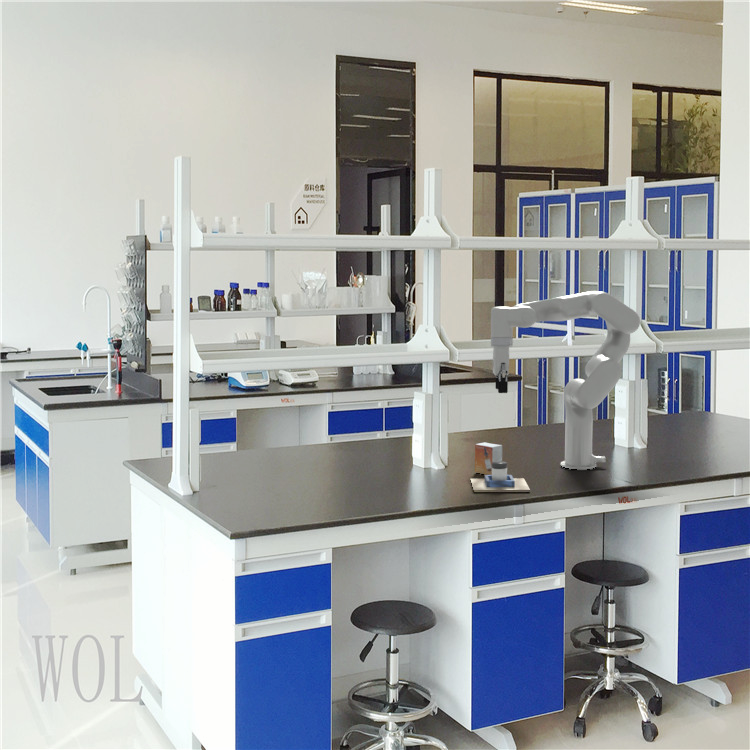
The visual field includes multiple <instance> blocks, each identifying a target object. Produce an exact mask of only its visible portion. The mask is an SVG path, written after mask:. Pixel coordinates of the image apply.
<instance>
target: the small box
mask: <svg viewBox="0 0 750 750" xmlns="http://www.w3.org/2000/svg"><path fill="white" fill-rule="evenodd" d="M496 461H502V462H503V445H502V444H496V443H489V442H485V441H484V442H480V443H476V444H474V473H475V472H478V473H483V474H489V475H492V462H496Z"/></svg>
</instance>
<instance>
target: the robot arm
mask: <svg viewBox="0 0 750 750" xmlns="http://www.w3.org/2000/svg"><path fill="white" fill-rule="evenodd" d="M592 316H598V317H599V318H601V319H603V321H605V326H606V331H607V334H606V337H605V340H604V341H603V343H602V345H600V347H598V349H597V351H596V352H595V353H594V354H593V356H592V357H591V358H590V359H589V360H588V361H587V363H586V365H585V367H584V371H585V375H586V377H587V378H586V379H584V378H573V379H571V380H569V381H568V382H567V384H566V385H565V387H564V389H563V390H564V391H563V401H564V413H565V417H564V418H565V419H564V422H565V423H564V425H565V428H564V429H565V430H564V431H565V432H564V433H565V435H564V460H563V461H560V465H561V466H562V467H561V466H560V465H559V466H560V467H561V468H563V467H565V468H569V469H568V470H571V469H577V470H576V471H588V470H587V469H590V470H594V469H596V468H597V463H606V459H607V458H606V456H599V455H598V456H596V455H594V454H593V420H594V415H593V409H595V408H596V407H598V406H599V405H600V404H601V403H602V402H603V401H604V400H605V399H606V397H607V396H608V395H609V394H610V392H611V391H612V390H613V389H614V387H615V386H616V385H617V384H618V382H619V380H620V378H621V376H622V367H621V364H620V362H621V361H622V359H623V358H624V357H625V355H626V354H627V352H628V350H629V348H630V345H631V334H633V333H636V331H637V330H638V329H639V327H640V325H641V319H640V316H639V314H638V313H637V312H636V311H635V310H634V309H632V308H631V307H629V306H628V305H626V304H625V303H623V302H622V301H620V300H619V299H617V298H616V297H614V296H613V295H611V294H610V293H608V292H605V291H598V290H590V291H585V292H581V293H575V294H574V293H573V294H569V295H564V296H558V297H552V298H548V299H543V300H542V299H541V300H535V301H531V302H525V303H523V302H522V303H518V304H515V305H513V306H511V307H510V306H493V307H492V308H491V310H490V347H491V348H493V349H492V350H493V351H492V373H493V374H494V376H495V389H496V390H497V391H498V392H497V393H498V394H508V389H509V387H508V386H509V385H508V383H509V382H508V375H509V374H510V373H509V372H510V348H512V347H513V346H514V345H513V344H514V343H513V341H514V340H513V333H514V332H513V331H514V330H513V329H514V327H515V328H523V329H524V328H525V329H526V328H527V329H528V328H531V327H533V326H534V324H536V323H538V322H539V323H542V322H565V321H566V322H567V321H571V320H575V319H580V318H586V317H592ZM493 359H494V360H493ZM595 467H596V468H595ZM565 468H564V469H565ZM593 468H594V469H593Z"/></svg>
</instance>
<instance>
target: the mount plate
mask: <svg viewBox="0 0 750 750" xmlns="http://www.w3.org/2000/svg"><path fill="white" fill-rule="evenodd" d="M470 480H471V482H470V484H471V483H472V486H471V488H472V487H473V489H472V491H473V490H530V491H531V489H530V487H529V485H528V483H527V482H526V480H525V478H523V477H522V478H521V477H519V478H517V477H515V478H514V477H513V475H512V474H507V480H492V475H484V478H470V479H469V481H470Z"/></svg>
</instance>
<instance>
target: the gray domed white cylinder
mask: <svg viewBox="0 0 750 750" xmlns="http://www.w3.org/2000/svg"><path fill="white" fill-rule="evenodd" d="M507 475H508V462H507V461H503V460H502V461H496V462H492V480H507Z"/></svg>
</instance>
